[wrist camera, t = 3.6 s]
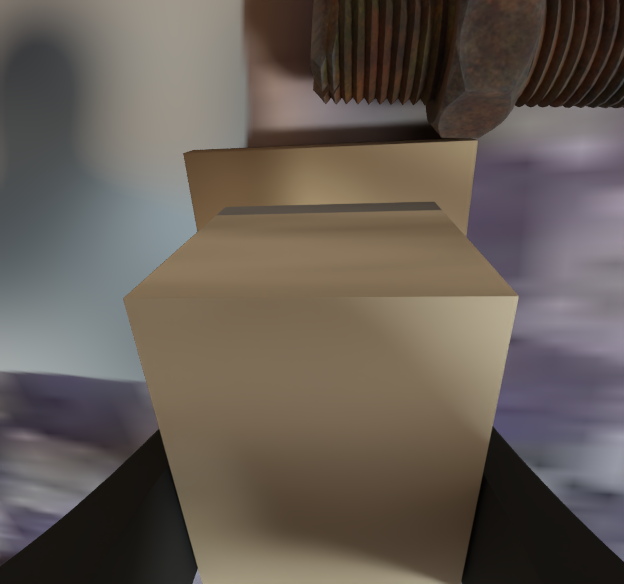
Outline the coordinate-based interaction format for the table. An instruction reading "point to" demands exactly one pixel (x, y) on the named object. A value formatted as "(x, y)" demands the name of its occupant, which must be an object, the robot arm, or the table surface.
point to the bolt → (470, 56)
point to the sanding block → (326, 390)
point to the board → (335, 176)
